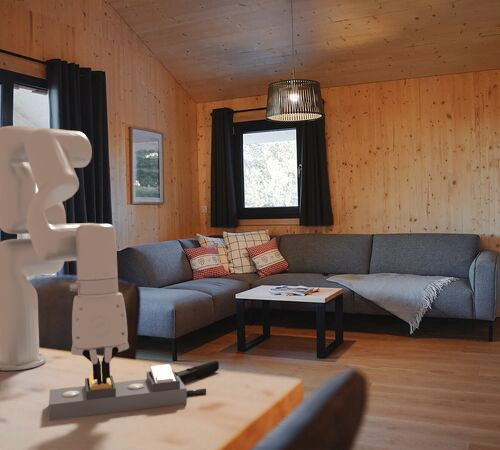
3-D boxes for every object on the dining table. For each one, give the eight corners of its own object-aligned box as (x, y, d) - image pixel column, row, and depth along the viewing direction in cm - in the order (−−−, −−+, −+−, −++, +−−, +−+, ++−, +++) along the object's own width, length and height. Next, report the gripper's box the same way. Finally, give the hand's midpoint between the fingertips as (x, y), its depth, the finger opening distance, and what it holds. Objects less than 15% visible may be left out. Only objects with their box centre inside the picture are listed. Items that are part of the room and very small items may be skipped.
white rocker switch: (150, 370, 119) (150, 364, 118) (169, 368, 120) (169, 362, 120) (155, 387, 112) (155, 381, 112) (175, 385, 113) (175, 378, 113)
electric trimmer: (223, 374, 134) (223, 361, 134) (172, 390, 122) (171, 375, 122) (212, 371, 136) (212, 358, 136) (161, 386, 125) (160, 372, 125)
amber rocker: (88, 380, 115) (88, 373, 115) (108, 377, 116) (108, 371, 116) (90, 391, 108) (90, 385, 108) (111, 389, 109) (111, 382, 109)
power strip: (50, 404, 114) (49, 381, 113) (200, 386, 123) (200, 365, 123) (49, 420, 105) (48, 396, 105) (211, 400, 115) (210, 377, 115)
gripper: (56, 292, 103) (60, 393, 103) (139, 287, 108) (143, 382, 108) (57, 288, 110) (61, 382, 110) (135, 283, 115) (138, 373, 115)
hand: (101, 382), depth 109 cm, fingers closed
